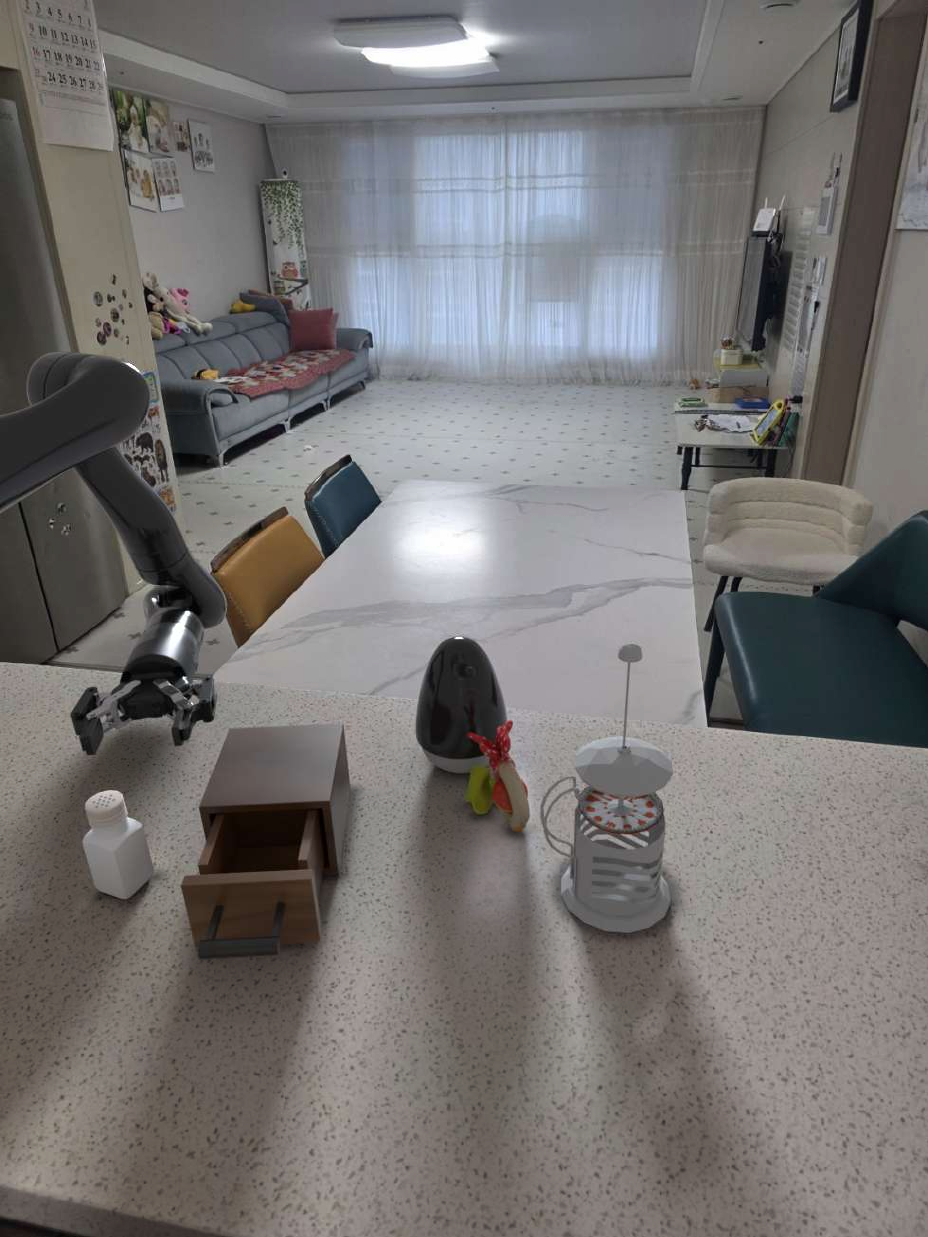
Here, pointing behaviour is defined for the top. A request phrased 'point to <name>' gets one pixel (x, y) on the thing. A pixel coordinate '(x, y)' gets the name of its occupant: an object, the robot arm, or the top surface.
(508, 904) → the top surface
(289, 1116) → the top surface
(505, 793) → the bird rattle
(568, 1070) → the top surface
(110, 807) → the pepper shaker
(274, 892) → the drawer
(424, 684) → the black egg-shaped device
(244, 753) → the cabinet
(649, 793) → the french press
